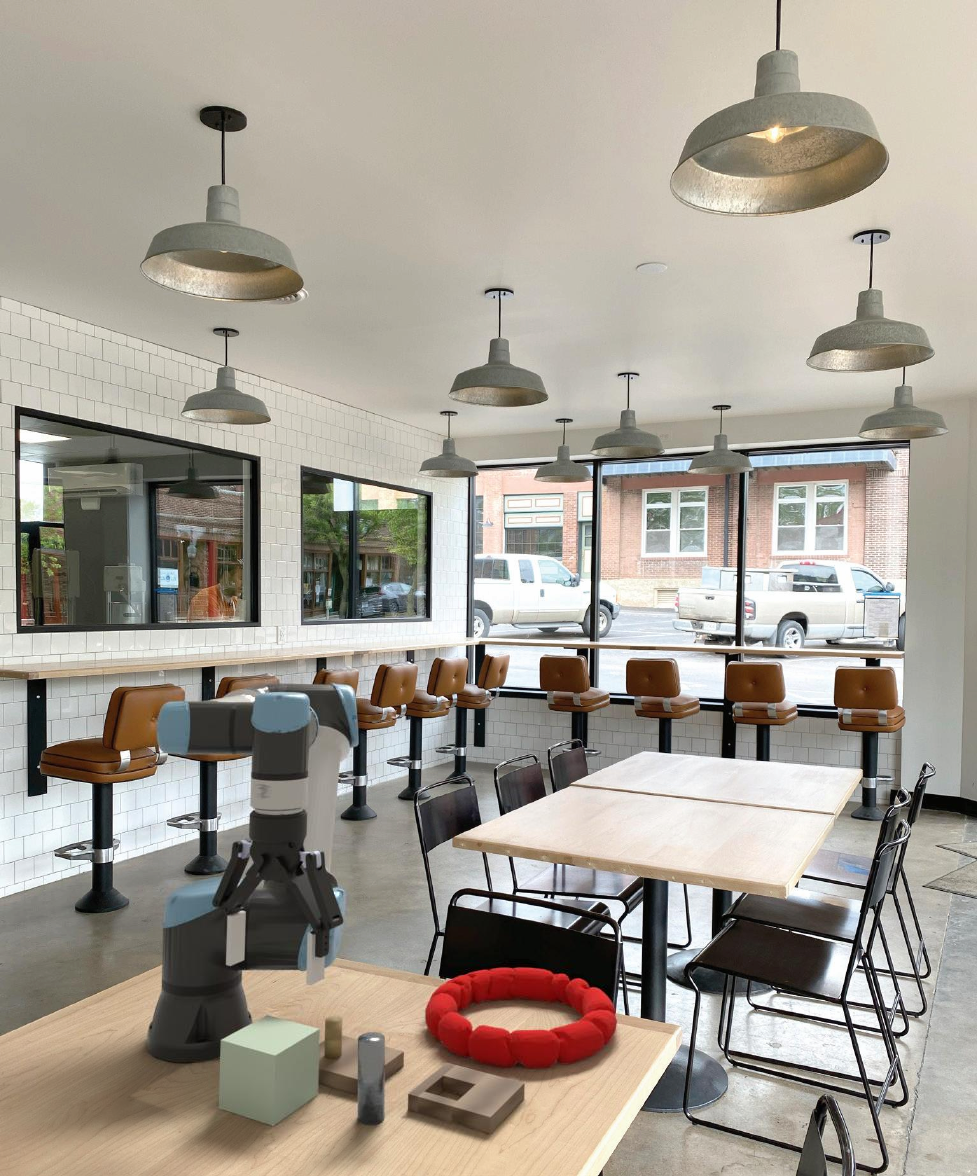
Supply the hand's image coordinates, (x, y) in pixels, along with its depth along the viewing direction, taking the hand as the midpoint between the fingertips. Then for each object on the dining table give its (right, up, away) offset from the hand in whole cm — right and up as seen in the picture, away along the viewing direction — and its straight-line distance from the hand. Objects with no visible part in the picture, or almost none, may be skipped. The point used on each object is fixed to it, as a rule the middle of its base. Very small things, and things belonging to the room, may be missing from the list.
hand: (274, 972), depth 122 cm
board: (+9, -17, +8) cm, 21 cm away
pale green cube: (-1, -17, -1) cm, 17 cm away
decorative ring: (+33, -19, +23) cm, 45 cm away
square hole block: (+25, -17, -1) cm, 31 cm away
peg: (+13, -17, -4) cm, 22 cm away
